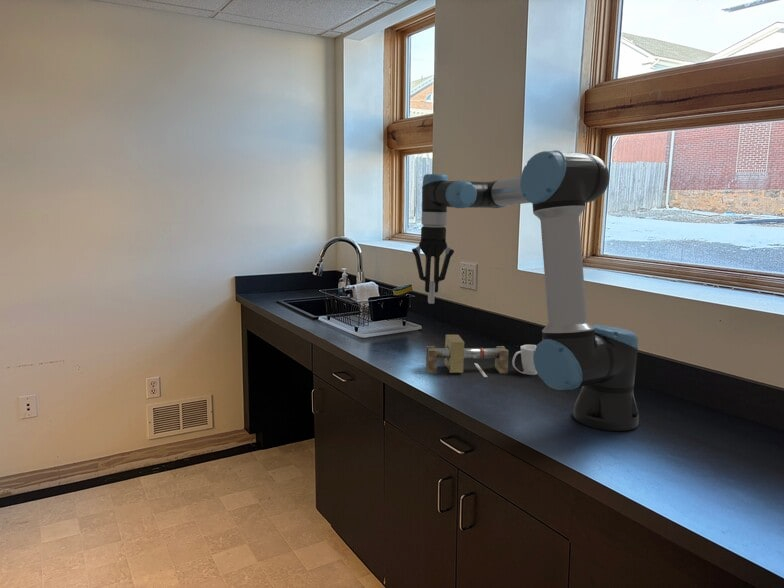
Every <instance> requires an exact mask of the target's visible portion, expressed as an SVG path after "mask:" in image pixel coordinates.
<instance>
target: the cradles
mask: <svg viewBox="0 0 784 588" xmlns="http://www.w3.org/2000/svg"><path fill="white" fill-rule="evenodd" d="M428 348H436V347H435V345H431V346H429V345H427V346H426V356H425V369H426V371H427V373H428V374H433V375H434V374H437V371H438V369H437V368H438V367H437V365H438V358H437V350H429V354H428ZM495 348H506V346H504V345H501V346H499V345H497V346H495ZM494 359H495V360H494V362H495V363H494V368H495V370H496V371H497V372H498V373H499V374H508V372H509V371H508V370H509V350H508V349H506V350H500V356H499V358H494Z"/></svg>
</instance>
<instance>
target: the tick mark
mask: <svg viewBox="0 0 784 588" xmlns="http://www.w3.org/2000/svg"><path fill="white" fill-rule="evenodd" d="M473 364H474V366H475V368H476V369H477V370H478V371H479V373H480V374H481V375H482V376H483V378H488V375H487V374H486V373H485V371H484V370H483V369H482V368H481V366H480V365H479V364H478V363H477V362H476V363H475V362H474V363H473Z"/></svg>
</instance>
